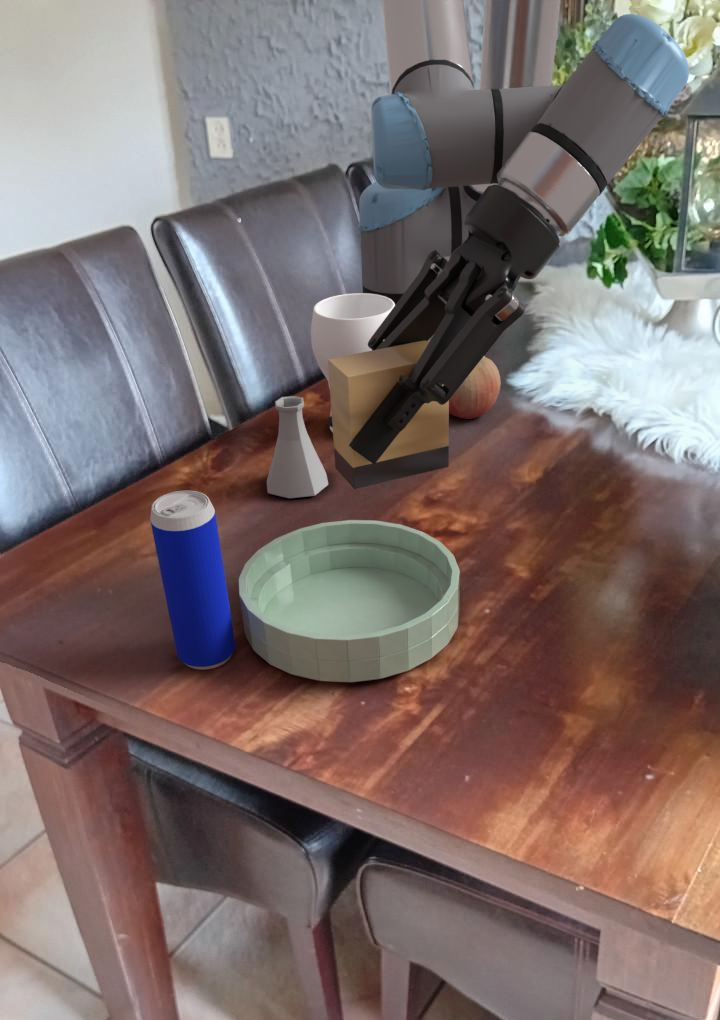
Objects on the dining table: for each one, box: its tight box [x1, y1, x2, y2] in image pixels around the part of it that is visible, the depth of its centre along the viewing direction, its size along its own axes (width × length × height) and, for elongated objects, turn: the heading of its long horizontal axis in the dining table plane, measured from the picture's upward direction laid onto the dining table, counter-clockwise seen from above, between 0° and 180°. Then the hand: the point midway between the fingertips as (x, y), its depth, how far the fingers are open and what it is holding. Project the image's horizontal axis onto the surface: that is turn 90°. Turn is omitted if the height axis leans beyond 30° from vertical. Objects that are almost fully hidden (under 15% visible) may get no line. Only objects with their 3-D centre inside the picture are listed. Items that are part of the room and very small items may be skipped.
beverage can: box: [149, 490, 237, 671], centre depth 84 cm, size 5×5×15 cm
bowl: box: [238, 519, 461, 683], centre depth 90 cm, size 19×19×5 cm
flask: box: [266, 395, 329, 499], centre depth 110 cm, size 7×7×10 cm
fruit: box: [449, 355, 501, 420], centre depth 124 cm, size 8×8×8 cm
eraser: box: [328, 341, 450, 490], centre depth 86 cm, size 9×4×10 cm, turn 112°
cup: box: [310, 292, 395, 433], centre depth 121 cm, size 11×11×15 cm
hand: (350, 442), depth 86 cm, fingers closed on eraser, 4 cm apart
